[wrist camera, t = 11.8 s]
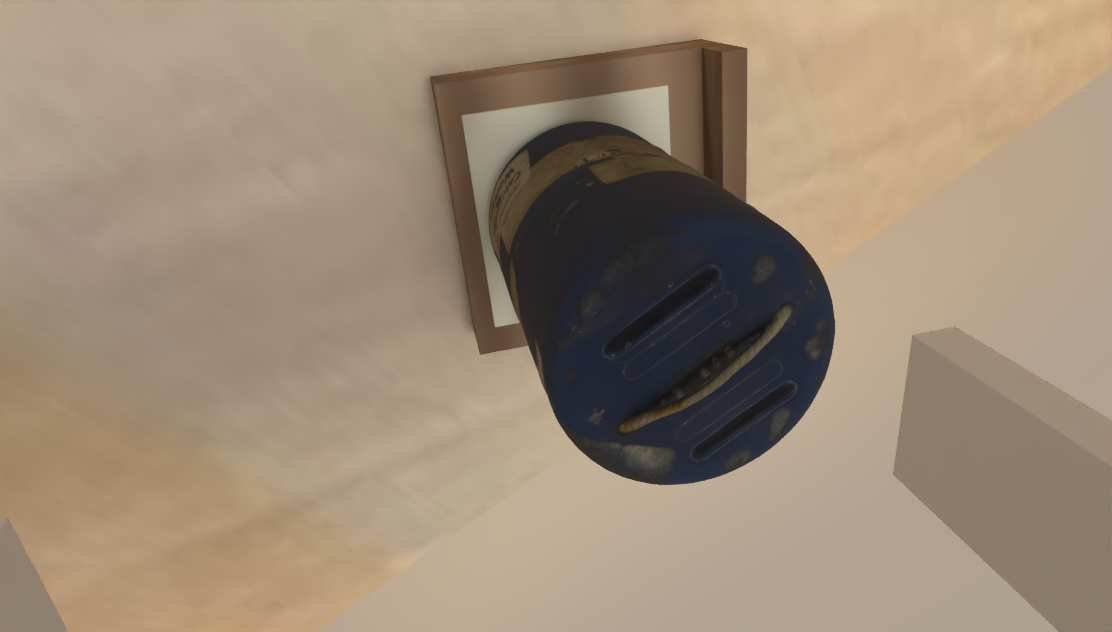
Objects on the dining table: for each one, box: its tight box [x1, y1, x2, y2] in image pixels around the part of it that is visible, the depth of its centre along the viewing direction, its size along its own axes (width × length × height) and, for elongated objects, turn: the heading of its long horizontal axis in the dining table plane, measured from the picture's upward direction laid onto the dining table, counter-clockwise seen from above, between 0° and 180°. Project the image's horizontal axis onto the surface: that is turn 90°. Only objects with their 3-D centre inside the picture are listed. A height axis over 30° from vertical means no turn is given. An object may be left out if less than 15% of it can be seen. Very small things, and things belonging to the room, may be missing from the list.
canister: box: [489, 121, 835, 485], centre depth 29 cm, size 10×10×18 cm
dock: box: [431, 39, 747, 355], centre depth 38 cm, size 14×14×5 cm
